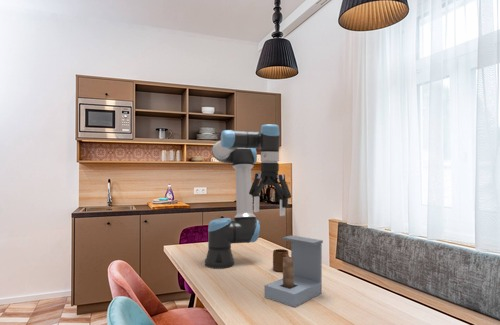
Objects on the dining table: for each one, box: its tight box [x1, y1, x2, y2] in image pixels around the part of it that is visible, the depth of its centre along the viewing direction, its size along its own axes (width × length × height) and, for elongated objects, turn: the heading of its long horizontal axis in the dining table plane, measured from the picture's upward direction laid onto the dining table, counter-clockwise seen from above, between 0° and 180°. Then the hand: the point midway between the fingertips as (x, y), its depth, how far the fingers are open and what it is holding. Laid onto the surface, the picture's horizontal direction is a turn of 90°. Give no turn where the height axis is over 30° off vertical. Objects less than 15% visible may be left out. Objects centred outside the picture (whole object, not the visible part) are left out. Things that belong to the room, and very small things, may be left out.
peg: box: [282, 256, 294, 289], centre depth 130 cm, size 4×4×15 cm
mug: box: [272, 248, 290, 273], centre depth 164 cm, size 12×8×9 cm, turn 22°
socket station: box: [264, 235, 324, 308], centre depth 133 cm, size 15×18×21 cm
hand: (269, 213), depth 140 cm, fingers open, 13 cm apart
